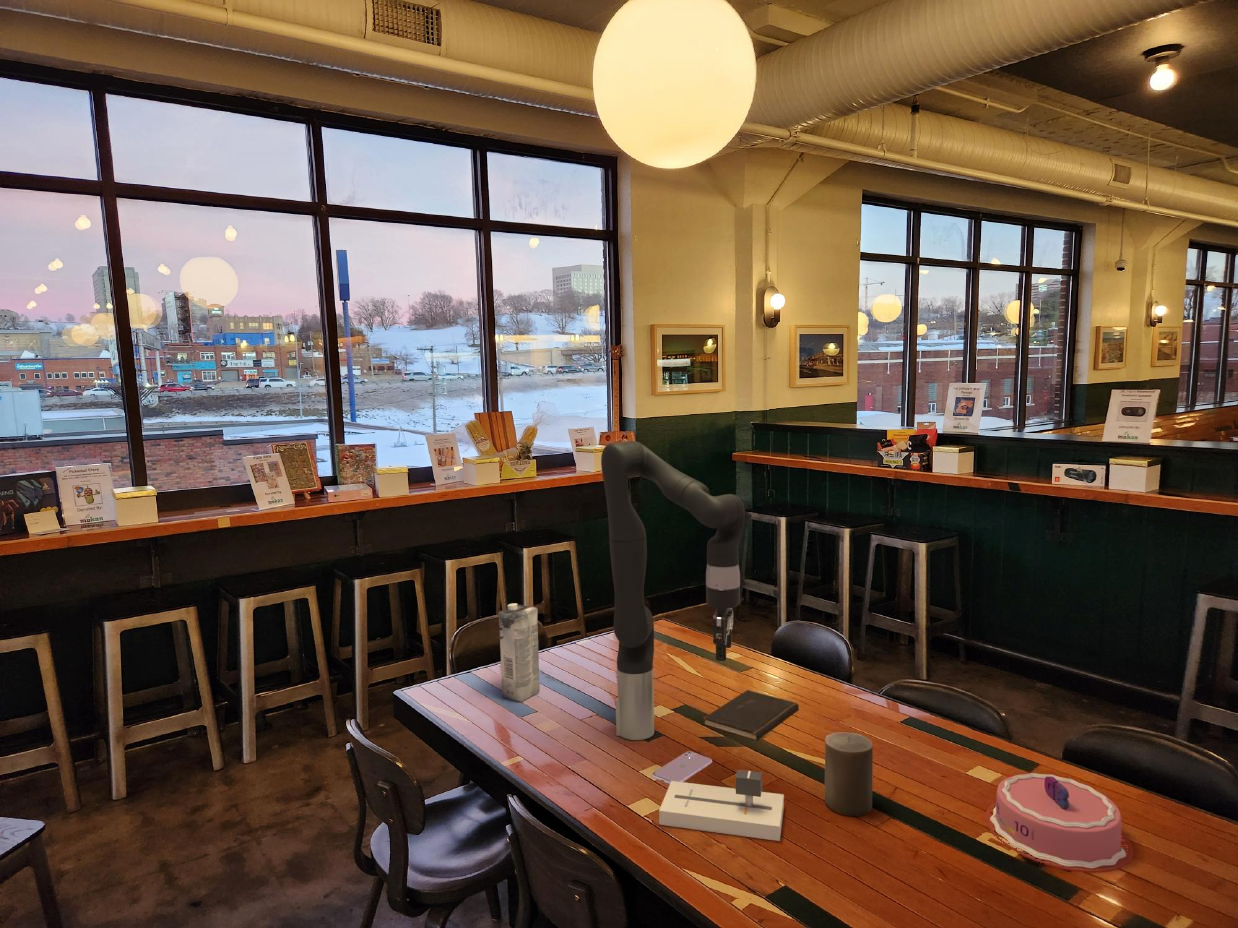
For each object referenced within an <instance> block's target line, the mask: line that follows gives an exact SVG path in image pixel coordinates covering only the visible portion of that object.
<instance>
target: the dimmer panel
mask: <svg viewBox="0 0 1238 928" xmlns="http://www.w3.org/2000/svg"><path fill="white" fill-rule="evenodd" d="M784 800H785V794H783V793H782V794H781V793H774V792H767V791H766V792H765V791H762V793H761V797H757V796H753V806H751V807H749V806H746V805H745V795H741V794H736V788H733V787H724V786H716V785H708V784H700V783H692V782H691V783H690V782H685V781H684V782H676V781H671V783H670V784H669V785H668V788H667V790H666V792H665V795H664V798H663V800H662V802H661V805H660V807H659V810H658V820H659V823H658V824H659V825H661V826H667V827H675V828H682V829H689V830H695V831H696V830H697V831H703V832H710V833H717V834H718V833H719V834H726V835H732V836H740V837H746V838H747V837H748V838H754V839H761V840H769V841H776V842H781V835H782V834H781V833H782V826H783V817H784V809H785V801H784Z"/></svg>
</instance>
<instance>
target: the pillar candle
mask: <svg viewBox="0 0 1238 928" xmlns="http://www.w3.org/2000/svg"><path fill="white" fill-rule="evenodd" d="M824 743H825V745H824V747H825V748H824V803H825V805H826V806H827V807H828V808H829V809H830V810H831V811H833V812H835V813H837V814H840V815H843V816H849V817H850V816H851V817H860V816H861V817H862V816H865V815H867V814H869V813H870V812H871V811H872V809H873V772H874V771H873V768H874V767H873V761H874V759H873V754H874V753H873V751H874V749H873V748H874V747H873V746H874V745H873V742H872V741H871V740H870V739H869V738H867V737H866V736H864V735H863V734H859V733H855V732H848V731H847V732H846V731H845V732H843V731H840V732H833V733H829V734H827V735H826V736H825V739H824Z"/></svg>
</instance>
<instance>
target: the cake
mask: <svg viewBox="0 0 1238 928" xmlns="http://www.w3.org/2000/svg"><path fill="white" fill-rule="evenodd" d="M993 806H996V807H995V808H994V807H993ZM992 808H994V809H993V810H992ZM990 811H993V812H992V813H993V815H992V816H991V815H989V813H990ZM1121 814H1122V813H1121V811H1120V809H1119V807H1118V806H1117V805H1116V804H1115V802H1113V801H1112V800H1111V799H1110V798H1109V797H1108V796H1106V795H1105V794H1103V793H1101V792H1100V791H1098V790H1096V789H1094V788H1092V787H1091V786H1089V785H1087V784H1083V783H1081V782H1078V781H1076V780H1074V779H1072V778H1069V777H1068V778H1067V777H1061V776H1058V775H1055V774H1052V773H1050V774H1045V773H1044V774H1043V773H1041V774H1040V773H1036V772H1031V773H1023V774H1015V775H1012V776H1009V777H1007V778H1005V779H1003V780H1002V781H1000V783H999V784H998V786H997V789H996V801H995V802H994V803H992V804H991V805H990V806H988V808H987V810H986V812H985V815H984V821H985V824H986V827H987V826H988V827H987V829H988V830H989V829H990V830H989V832H992V833H991V834H992V835H993V836H994V837H995V836H996V837H997V838H996V837H995V838H996V839H997V840H998V839H999V840H1000V841H1001V842H1000V841H999V840H998V841H999V842H1000V843H1002V842H1003V843H1002V844H1003V845H1004V844H1005V845H1004V846H1006V845H1007V846H1008V847H1007V846H1006V847H1007V848H1009V847H1010V848H1009V849H1010V850H1012V851H1013V850H1014V852H1015V851H1016V853H1017V854H1020V855H1021V856H1023V857H1025V858H1027V859H1030V860H1033V861H1035V862H1036V863H1039V862H1040V863H1039V864H1042V863H1044V864H1043V865H1046V866H1050V867H1052V866H1053V867H1052V868H1056V869H1060V870H1061V869H1062V870H1066V871H1072V872H1079V873H1089V874H1091V873H1092V874H1093V873H1099V874H1100V873H1107V872H1108V873H1109V872H1112V871H1116V870H1119V869H1122V868H1124V867H1125V866H1127V865H1128V864H1129V863H1130V862H1131V861H1132V860H1133V856H1134V849H1133V845H1132V842H1131V841H1130V838H1129V837H1128V836H1127V834H1125V833H1124V831H1122V815H1121ZM989 816H991V817H989ZM989 818H990V820H989ZM989 821H991V822H989ZM990 823H993V824H994V825H990ZM991 826H992V827H993V826H995V831H996V832H997V833H998V834H999V835H1001V836H1002V837H1004V838H1005V839H1007V840H1008V842H1009V843H1008V844H1011V845H1012V846H1014V847H1016V848H1013V847H1011V846H1010V845H1008V844H1007V843H1005V842H1004V841H1002V839H1000V838H999V835H996V834H997V833H995V832H994V830H993V829H994V828H993V829H992V828H991ZM1121 836H1122V837H1123V838H1121ZM1121 839H1124V840H1125V841H1121ZM1125 844H1126V845H1128V846H1124V845H1125ZM1121 845H1123V846H1121ZM1121 847H1123V848H1121ZM1126 847H1128V848H1126ZM1017 848H1018V849H1021V850H1024V851H1025V852H1023V851H1018V850H1017ZM1127 850H1128V851H1127ZM1024 853H1029V854H1024ZM1127 853H1128V854H1127ZM1031 855H1032V856H1031ZM1035 858H1038V859H1035ZM1041 860H1045V861H1041ZM1050 863H1051V864H1050ZM1062 866H1063V867H1062Z"/></svg>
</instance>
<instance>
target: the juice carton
mask: <svg viewBox="0 0 1238 928" xmlns="http://www.w3.org/2000/svg"><path fill="white" fill-rule="evenodd" d="M538 611H539V609H538V607H535V606H529V605H523V604H518V603H516V602H515V603H513V602H512V603H509V604H507V609H505V610H500V611H498V613H497V614H498V621H499V622H498V623H499V641H500V642H499V647H500V648H499V649H500V669H501V689H502V690H501V693H502V697H503V698H504V699H508V700H513V701H516V702H520V703H521V702H524V701H525V700H527V699H529V698H530V697H532V696H535V695H536V694H538V693H540V689H541V687H540V686H541V685H540V684H541V683H540V661H539V636H538V635H539V632H538Z"/></svg>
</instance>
